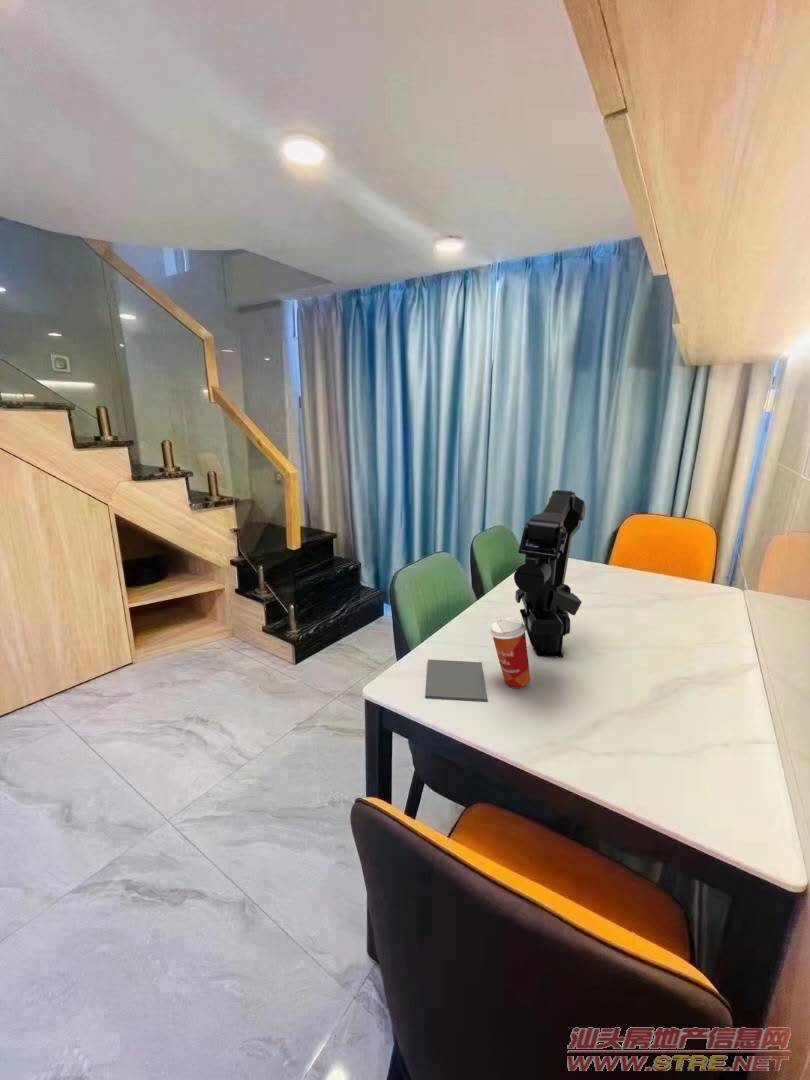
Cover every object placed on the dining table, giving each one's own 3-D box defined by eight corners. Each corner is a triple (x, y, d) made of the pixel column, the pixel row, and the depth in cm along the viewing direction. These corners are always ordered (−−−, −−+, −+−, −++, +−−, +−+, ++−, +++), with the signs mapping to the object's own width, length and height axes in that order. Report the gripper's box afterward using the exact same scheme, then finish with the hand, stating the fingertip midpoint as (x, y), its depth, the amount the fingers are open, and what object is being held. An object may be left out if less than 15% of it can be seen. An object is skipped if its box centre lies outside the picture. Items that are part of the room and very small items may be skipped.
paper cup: (494, 679, 101) (482, 625, 98) (521, 667, 104) (511, 613, 100) (513, 696, 94) (501, 637, 91) (543, 682, 96) (532, 624, 93)
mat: (481, 664, 107) (481, 662, 107) (487, 701, 92) (487, 699, 92) (427, 661, 108) (427, 659, 108) (425, 698, 93) (425, 695, 93)
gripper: (594, 595, 83) (585, 670, 87) (566, 565, 101) (560, 628, 105) (534, 593, 84) (528, 667, 87) (517, 564, 102) (512, 626, 106)
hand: (533, 645), depth 96 cm, fingers closed
